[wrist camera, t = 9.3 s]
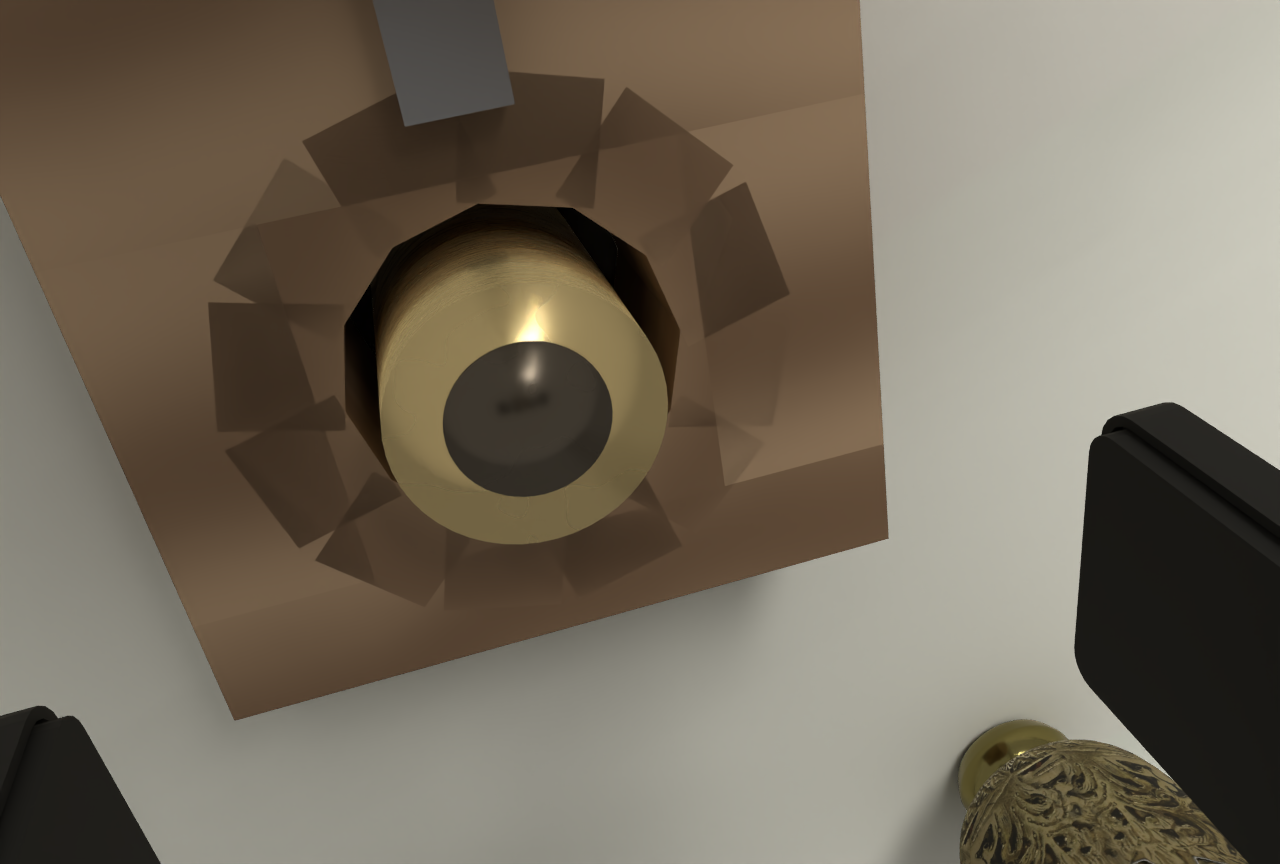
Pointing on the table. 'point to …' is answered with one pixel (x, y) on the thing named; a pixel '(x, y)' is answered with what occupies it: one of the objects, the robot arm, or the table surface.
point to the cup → (1076, 805)
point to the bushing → (512, 377)
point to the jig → (402, 208)
